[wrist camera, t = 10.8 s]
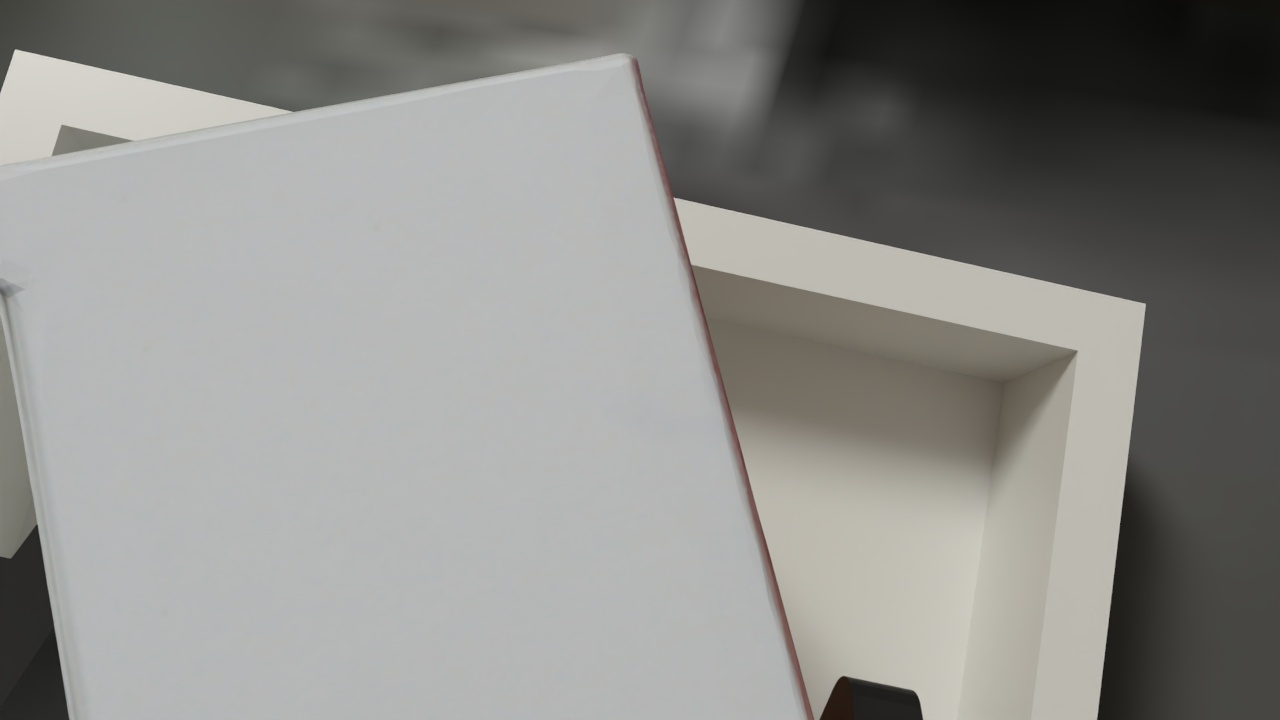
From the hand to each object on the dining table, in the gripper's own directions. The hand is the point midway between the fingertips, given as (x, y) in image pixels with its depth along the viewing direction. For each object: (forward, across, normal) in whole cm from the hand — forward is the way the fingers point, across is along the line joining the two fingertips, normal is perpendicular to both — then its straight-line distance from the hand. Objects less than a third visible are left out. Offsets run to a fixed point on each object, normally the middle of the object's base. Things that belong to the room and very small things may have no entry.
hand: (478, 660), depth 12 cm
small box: (+6, 0, +5) cm, 7 cm away
